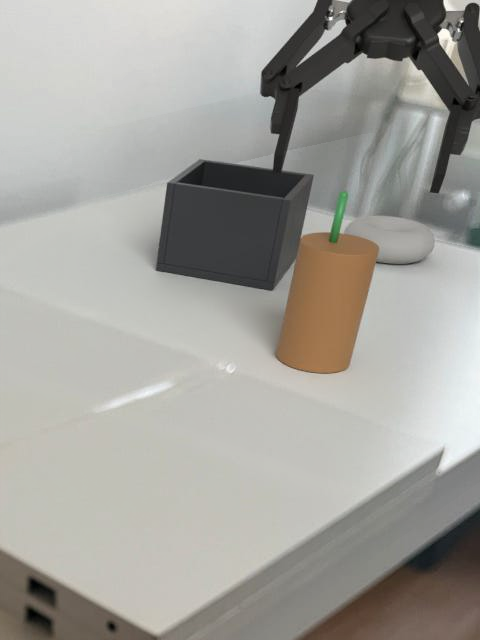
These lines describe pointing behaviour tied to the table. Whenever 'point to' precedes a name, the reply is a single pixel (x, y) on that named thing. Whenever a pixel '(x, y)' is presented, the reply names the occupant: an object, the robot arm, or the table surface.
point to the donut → (394, 238)
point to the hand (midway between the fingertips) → (355, 174)
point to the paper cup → (326, 298)
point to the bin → (233, 223)
